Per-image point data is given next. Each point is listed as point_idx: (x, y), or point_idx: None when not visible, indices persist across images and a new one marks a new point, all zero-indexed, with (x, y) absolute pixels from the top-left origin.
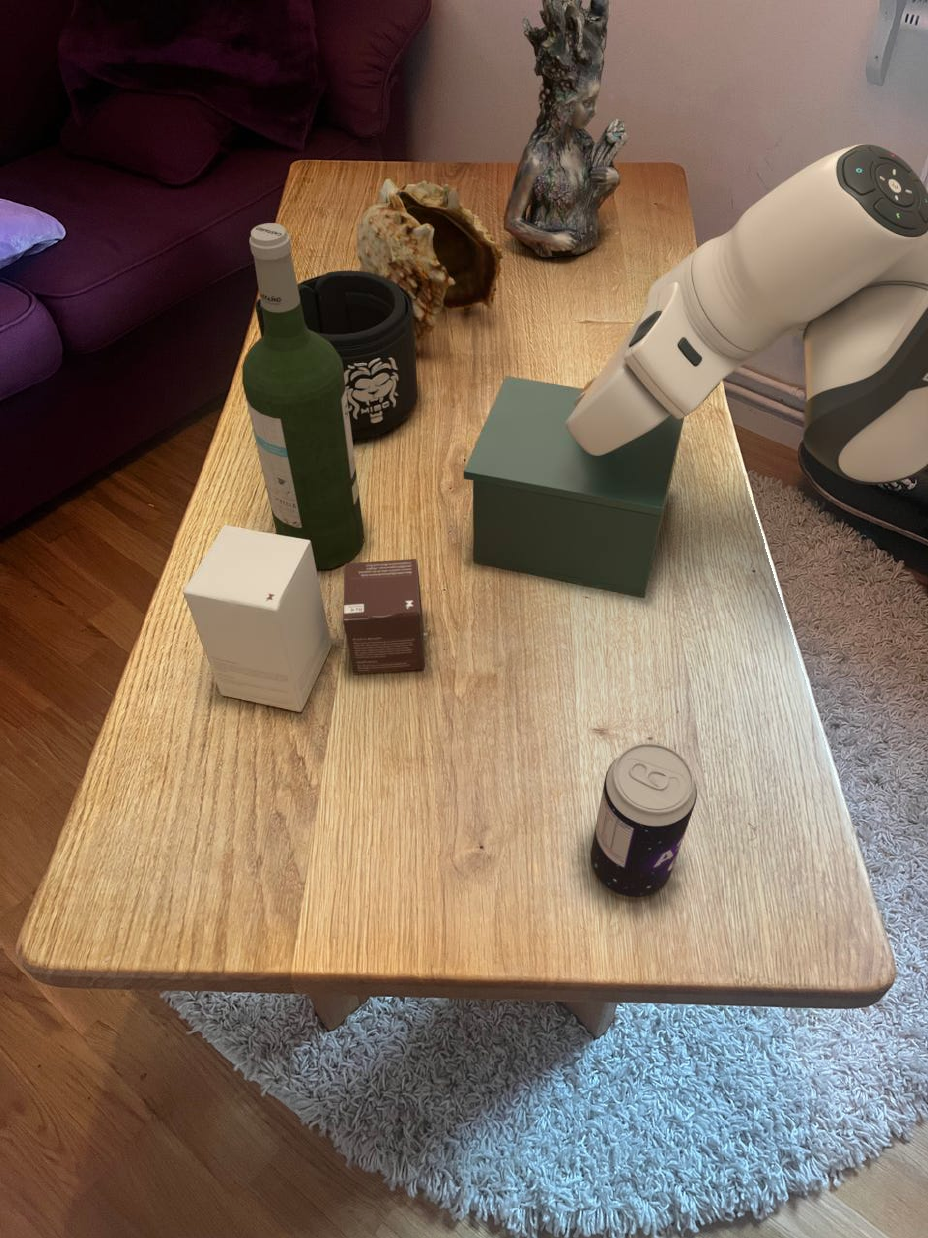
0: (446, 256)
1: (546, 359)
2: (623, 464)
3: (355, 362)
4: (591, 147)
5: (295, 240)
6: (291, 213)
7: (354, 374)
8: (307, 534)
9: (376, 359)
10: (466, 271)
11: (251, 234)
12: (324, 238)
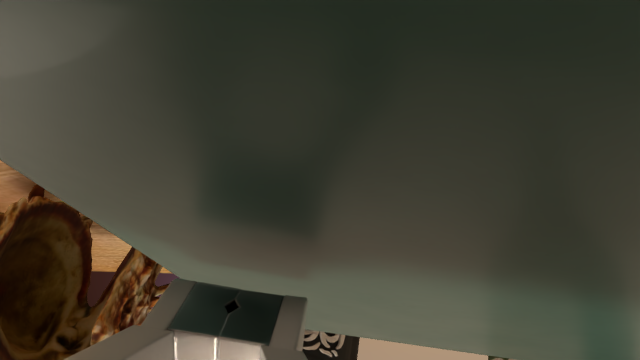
0: (23, 259)
1: None
2: (627, 192)
3: (328, 357)
4: None
5: (116, 267)
6: (92, 270)
7: (335, 339)
8: None
9: (308, 349)
10: (15, 241)
11: None
12: (92, 258)
